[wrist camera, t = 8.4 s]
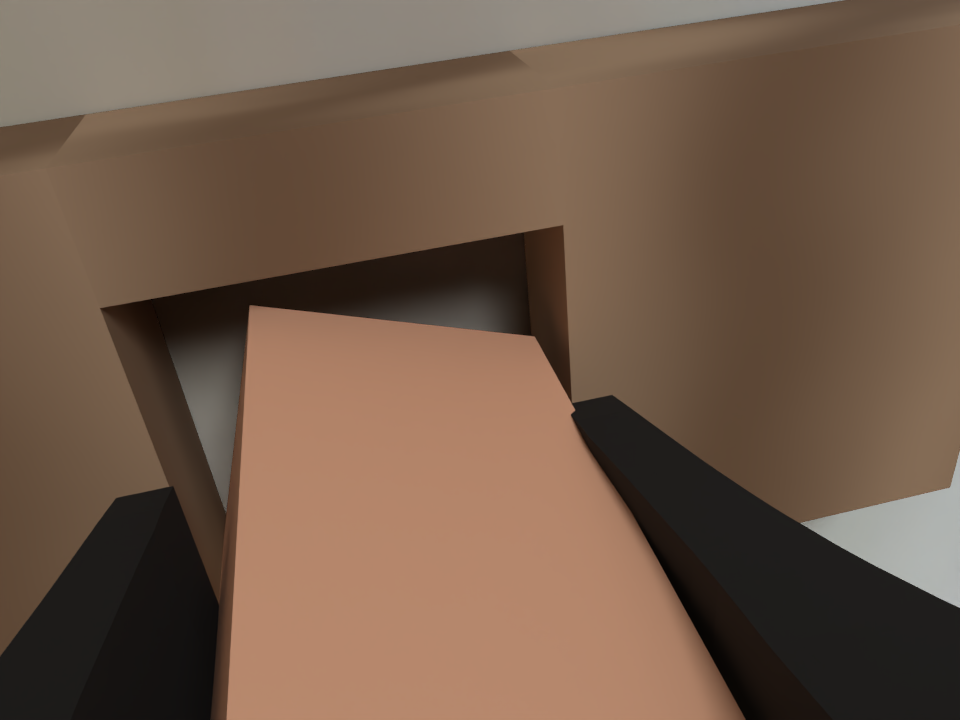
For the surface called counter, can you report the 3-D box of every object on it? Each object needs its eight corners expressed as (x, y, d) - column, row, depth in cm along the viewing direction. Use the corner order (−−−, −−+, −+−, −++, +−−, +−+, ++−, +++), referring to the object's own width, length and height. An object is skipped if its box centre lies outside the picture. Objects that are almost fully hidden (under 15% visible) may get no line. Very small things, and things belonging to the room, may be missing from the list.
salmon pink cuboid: (534, 336, 11) (775, 773, 5) (473, 545, 12) (614, 1030, 7) (249, 305, 9) (221, 805, 4) (223, 537, 11) (183, 1098, 6)
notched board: (952, -17, 11) (1076, 6, 9) (872, 415, 15) (950, 487, 13) (-297, 172, 9) (-428, 242, 7) (-25, 613, 13) (-70, 727, 11)
